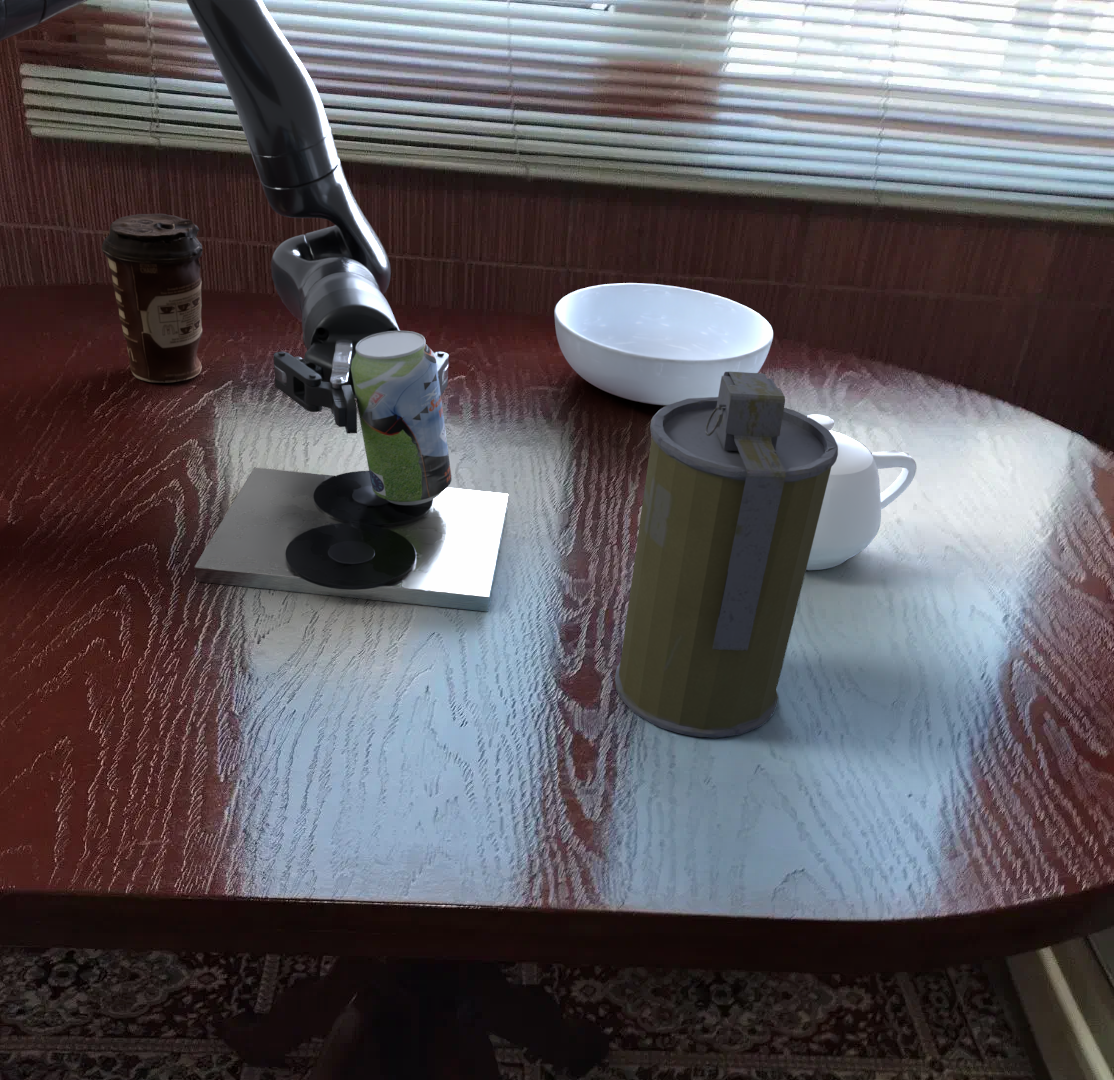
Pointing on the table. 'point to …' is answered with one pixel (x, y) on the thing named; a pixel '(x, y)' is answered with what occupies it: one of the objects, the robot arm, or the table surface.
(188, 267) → the coffee cup
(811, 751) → the table surface
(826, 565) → the teapot
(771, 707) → the canister
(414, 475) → the beverage can
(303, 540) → the hob
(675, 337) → the serving bowl
